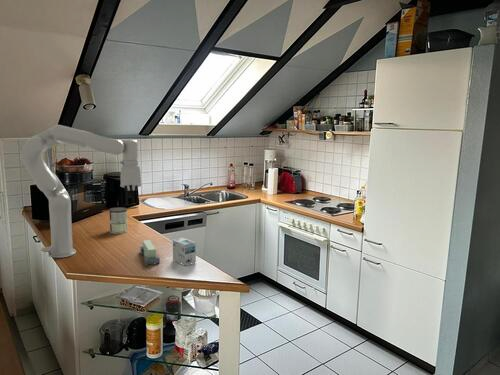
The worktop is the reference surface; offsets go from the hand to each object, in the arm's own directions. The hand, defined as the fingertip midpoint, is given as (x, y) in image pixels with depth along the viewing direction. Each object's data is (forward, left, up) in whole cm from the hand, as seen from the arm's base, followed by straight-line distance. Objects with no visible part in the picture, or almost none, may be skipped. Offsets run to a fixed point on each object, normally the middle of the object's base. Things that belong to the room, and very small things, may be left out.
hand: (130, 197), depth 206 cm
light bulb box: (+21, -32, -27) cm, 47 cm away
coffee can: (-4, +32, -27) cm, 42 cm away
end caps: (+6, -21, -27) cm, 35 cm away
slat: (+6, -21, -27) cm, 35 cm away
